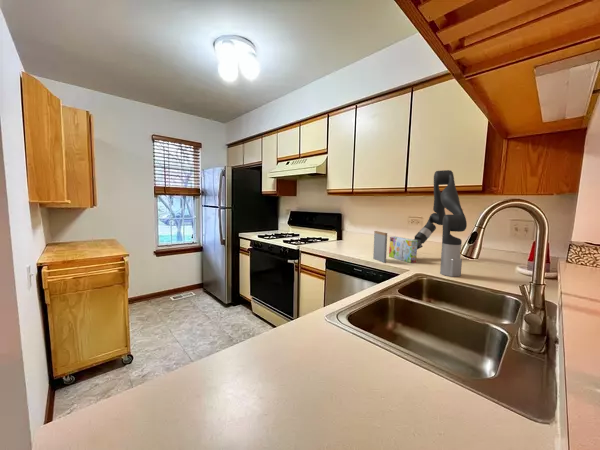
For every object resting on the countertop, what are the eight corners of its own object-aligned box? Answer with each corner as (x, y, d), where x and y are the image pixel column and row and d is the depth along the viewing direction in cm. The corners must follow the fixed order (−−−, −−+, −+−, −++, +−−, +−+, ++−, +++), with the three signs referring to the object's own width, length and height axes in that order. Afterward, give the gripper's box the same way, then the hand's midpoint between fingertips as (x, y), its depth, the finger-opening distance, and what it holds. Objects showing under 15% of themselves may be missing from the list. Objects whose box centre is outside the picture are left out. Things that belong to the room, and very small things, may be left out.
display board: (386, 262, 170) (387, 233, 168) (383, 262, 170) (385, 233, 168) (375, 258, 183) (376, 230, 181) (373, 258, 182) (374, 230, 180)
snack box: (416, 262, 172) (418, 240, 171) (410, 263, 170) (411, 240, 169) (394, 256, 192) (395, 236, 190) (388, 256, 190) (389, 236, 188)
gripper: (413, 230, 189) (398, 247, 187) (427, 232, 176) (410, 251, 174) (419, 237, 191) (404, 254, 189) (433, 240, 178) (416, 258, 176)
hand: (407, 253), depth 182 cm, fingers closed
